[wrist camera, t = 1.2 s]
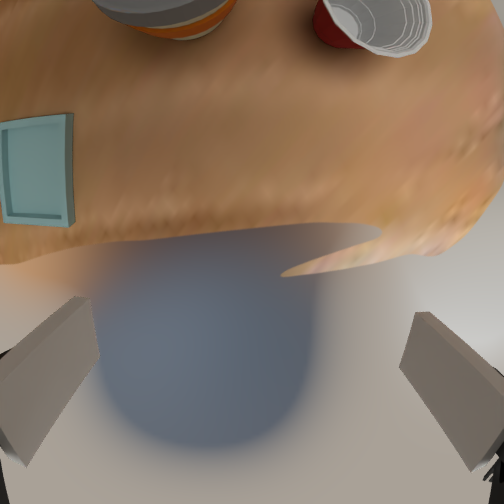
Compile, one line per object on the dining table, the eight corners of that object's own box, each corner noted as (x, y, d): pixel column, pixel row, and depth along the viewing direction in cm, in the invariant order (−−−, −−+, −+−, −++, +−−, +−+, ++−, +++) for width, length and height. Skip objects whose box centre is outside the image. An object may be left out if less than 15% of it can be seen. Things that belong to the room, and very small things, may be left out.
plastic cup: (330, 86, 30) (377, 78, 19) (271, 14, 25) (292, -28, 15) (394, 47, 27) (455, 33, 16) (342, -21, 23) (385, -61, 12)
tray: (5, 121, 27) (-4, 123, 25) (73, 113, 28) (65, 114, 27) (11, 217, 33) (3, 222, 31) (75, 221, 34) (68, 227, 33)
